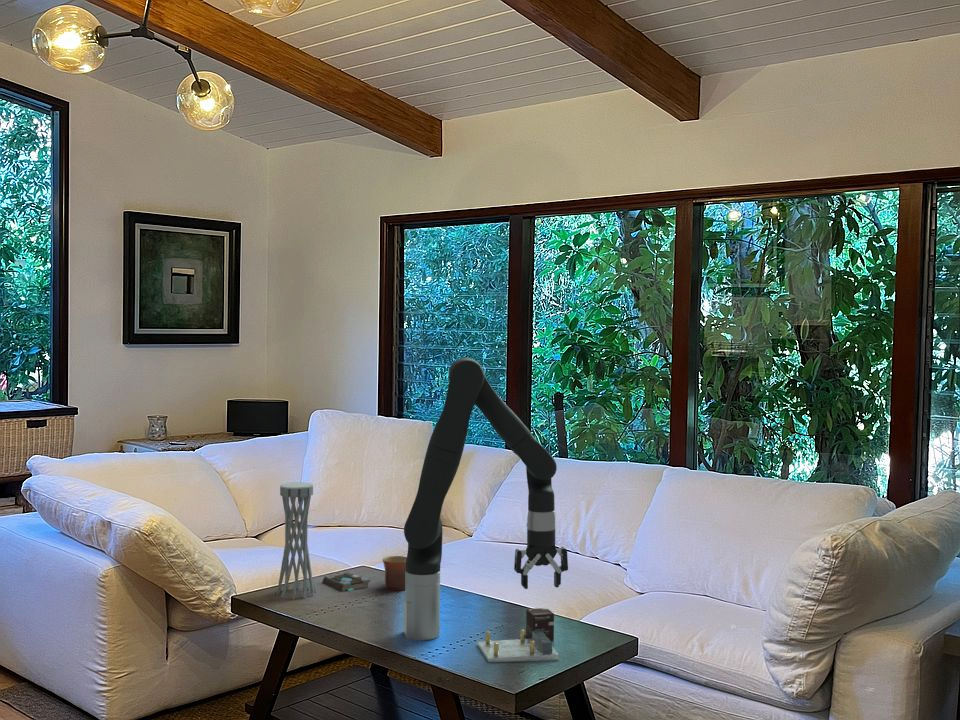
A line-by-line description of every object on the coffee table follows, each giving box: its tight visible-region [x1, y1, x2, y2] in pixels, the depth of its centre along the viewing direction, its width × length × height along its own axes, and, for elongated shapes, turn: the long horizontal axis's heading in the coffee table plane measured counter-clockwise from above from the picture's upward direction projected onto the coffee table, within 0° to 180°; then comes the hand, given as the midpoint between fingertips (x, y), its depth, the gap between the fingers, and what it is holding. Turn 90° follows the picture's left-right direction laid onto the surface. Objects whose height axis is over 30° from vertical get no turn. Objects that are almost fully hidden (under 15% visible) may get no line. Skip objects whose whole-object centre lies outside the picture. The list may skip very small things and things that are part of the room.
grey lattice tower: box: [275, 482, 317, 600], centre depth 290 cm, size 14×13×35 cm
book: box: [321, 571, 371, 592], centre depth 302 cm, size 20×12×5 cm, turn 38°
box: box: [525, 607, 555, 642], centre depth 258 cm, size 6×6×7 cm
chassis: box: [476, 629, 560, 663], centre depth 245 cm, size 18×13×4 cm
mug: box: [382, 555, 407, 592], centre depth 303 cm, size 12×9×10 cm
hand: (541, 587), depth 257 cm, fingers open, 8 cm apart
